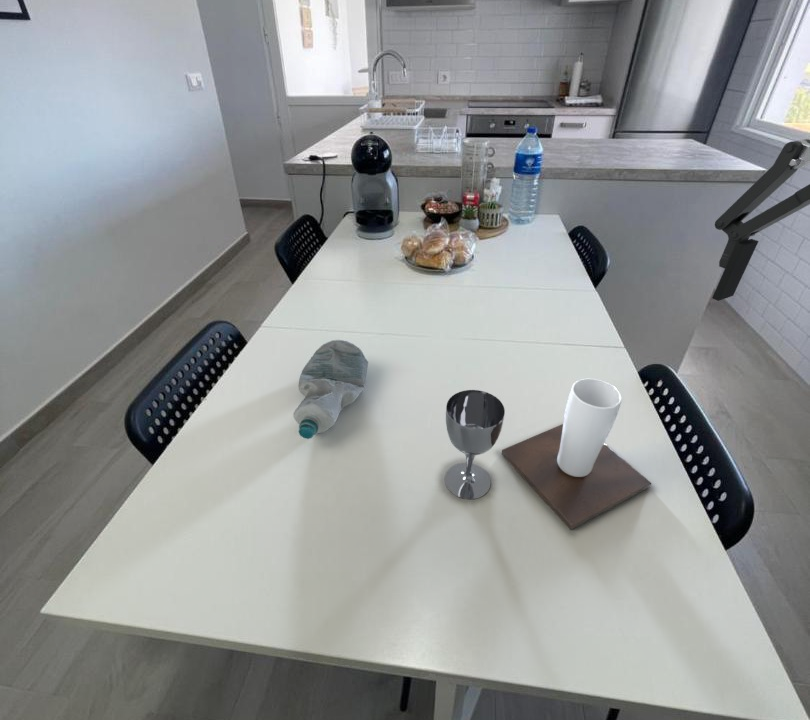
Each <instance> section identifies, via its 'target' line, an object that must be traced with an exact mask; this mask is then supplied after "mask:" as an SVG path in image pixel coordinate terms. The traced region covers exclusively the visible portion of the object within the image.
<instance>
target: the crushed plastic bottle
mask: <svg viewBox="0 0 810 720" xmlns="http://www.w3.org/2000/svg"><path fill="white" fill-rule="evenodd" d="M368 367H369V361H368V360H367V358H366V356H365V354H364V352H363V351H362V349H361V348H360V347H358V346H357V345H356V344H354V343H352V342H350V341H347V340H344V339H343V340H342V339H334V340H332V339H331V340H330V341H327V342H325V343H323V344H322V345H321V346H319V348H317V350H315V351H314V353H313V354H312V356H311V357H310V359H309V360H308V361H307V363H305V365H304V367H303V368H302V370H301V372H300V375H299V378H298V391H299V393H300V394H301V396H303V400H302V401H301V402H300V403H299V404H298V406H297V407H296V408H295V410H294V412H293V413H292V417H293V419H294V421H295V422H296V423H297V424H298V434H299V436H300V437H301V438H303V439H312V438H313V437H314V436H315V435H317V434H320V433H325V432H326V431H328V430H329V429H331V427H333V426H334V425H335V423H336V421H337V420H338V418H339V416H340V413H341V411H343V409H344V408H346V407H347V406H349V405H351V404H353V403H354V402H355V401H356V399H357V398H358V397H359V395H360V394H361V393H362V391H363V390H364V389H365V387H366V380H367V372H368Z"/></svg>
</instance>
